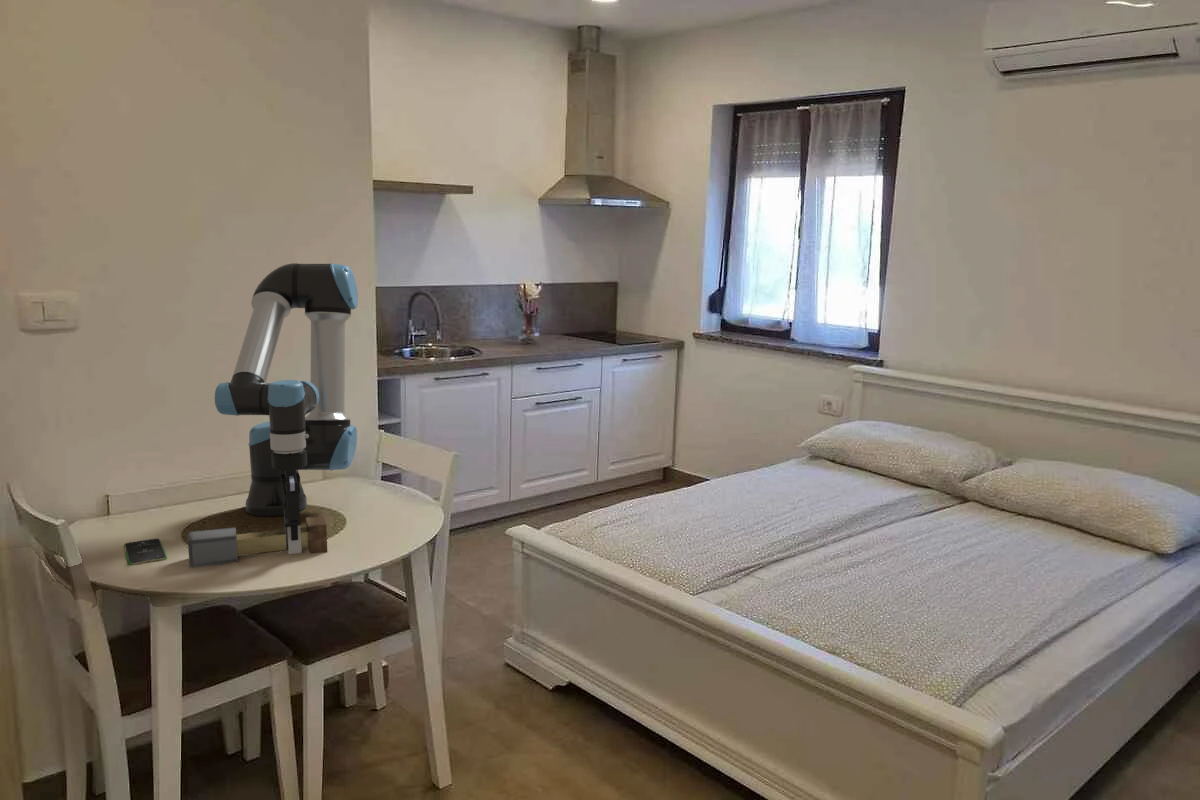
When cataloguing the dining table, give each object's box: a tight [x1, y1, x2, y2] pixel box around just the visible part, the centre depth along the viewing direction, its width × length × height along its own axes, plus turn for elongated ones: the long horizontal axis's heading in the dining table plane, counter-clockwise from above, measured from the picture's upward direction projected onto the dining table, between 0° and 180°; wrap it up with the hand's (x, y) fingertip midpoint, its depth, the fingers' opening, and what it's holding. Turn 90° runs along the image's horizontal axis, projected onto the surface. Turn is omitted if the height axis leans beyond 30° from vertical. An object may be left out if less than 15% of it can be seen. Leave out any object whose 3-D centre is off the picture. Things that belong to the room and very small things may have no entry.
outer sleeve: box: [187, 527, 238, 569], centre depth 190 cm, size 10×6×6 cm
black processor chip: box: [123, 538, 168, 566], centre depth 194 cm, size 8×1×15 cm
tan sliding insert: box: [236, 506, 309, 556], centre depth 194 cm, size 18×4×9 cm, turn 113°
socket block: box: [305, 515, 328, 555], centre depth 198 cm, size 4×7×6 cm, turn 23°
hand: (293, 546), depth 197 cm, fingers open, 8 cm apart
